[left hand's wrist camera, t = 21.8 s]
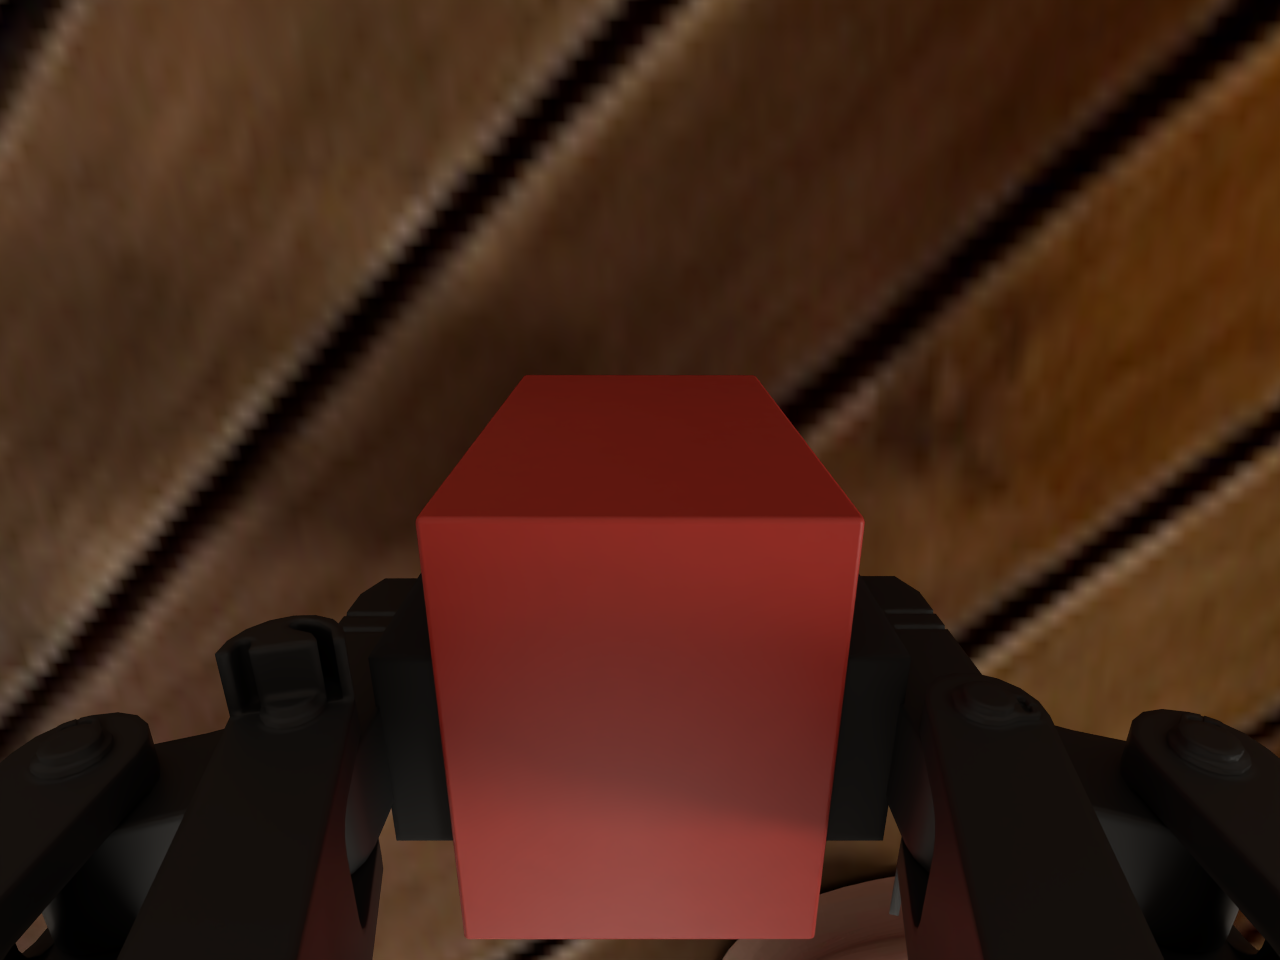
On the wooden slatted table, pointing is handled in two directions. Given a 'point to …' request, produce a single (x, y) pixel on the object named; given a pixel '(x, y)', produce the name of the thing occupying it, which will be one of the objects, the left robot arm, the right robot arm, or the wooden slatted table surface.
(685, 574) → the block
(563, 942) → the wooden slatted table surface
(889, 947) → the anatomical model
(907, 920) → the left robot arm
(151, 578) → the wooden slatted table surface
